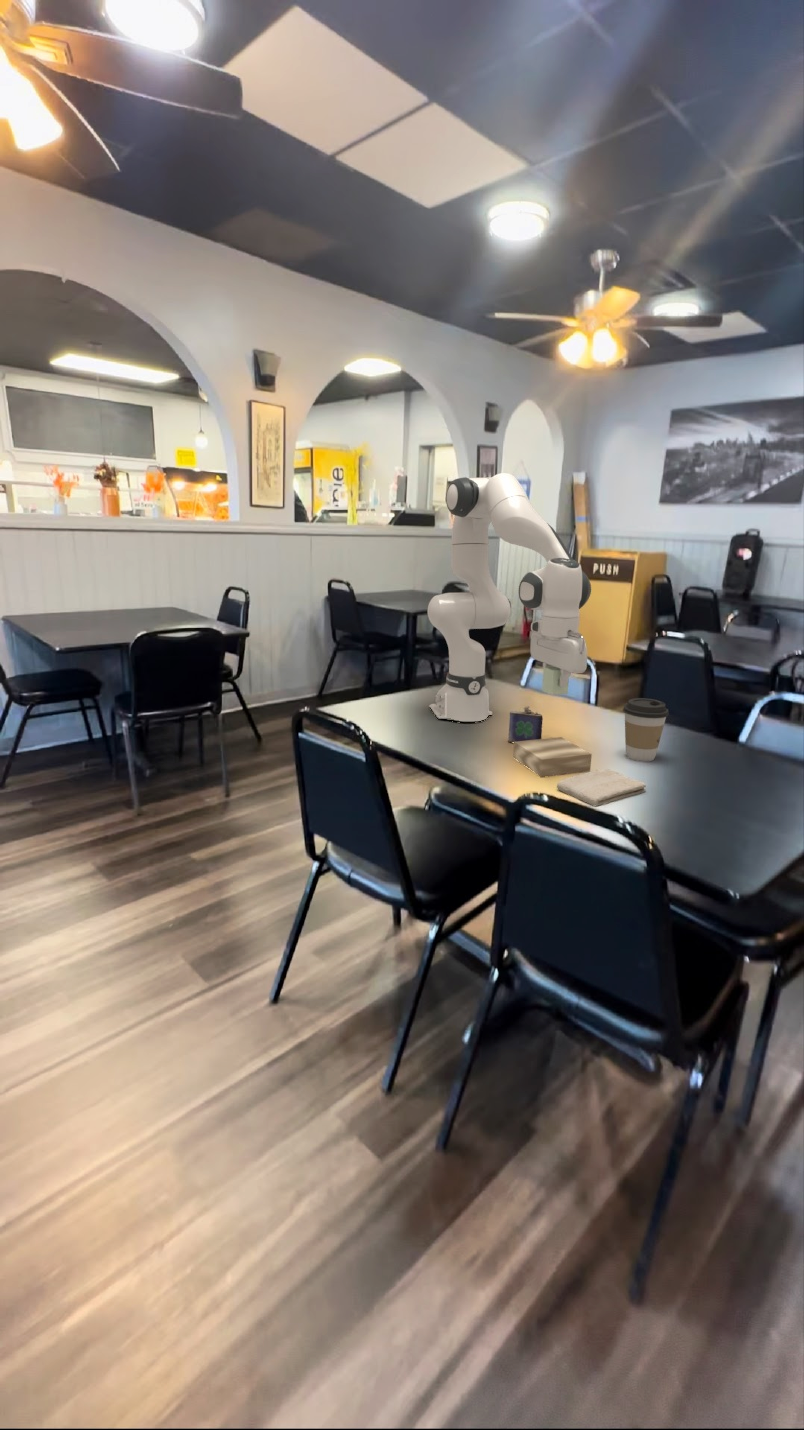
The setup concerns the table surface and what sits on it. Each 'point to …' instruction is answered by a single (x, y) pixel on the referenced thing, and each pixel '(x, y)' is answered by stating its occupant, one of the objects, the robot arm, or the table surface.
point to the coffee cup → (643, 727)
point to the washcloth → (601, 787)
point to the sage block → (553, 681)
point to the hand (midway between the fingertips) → (555, 683)
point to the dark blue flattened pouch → (525, 725)
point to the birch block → (552, 756)
